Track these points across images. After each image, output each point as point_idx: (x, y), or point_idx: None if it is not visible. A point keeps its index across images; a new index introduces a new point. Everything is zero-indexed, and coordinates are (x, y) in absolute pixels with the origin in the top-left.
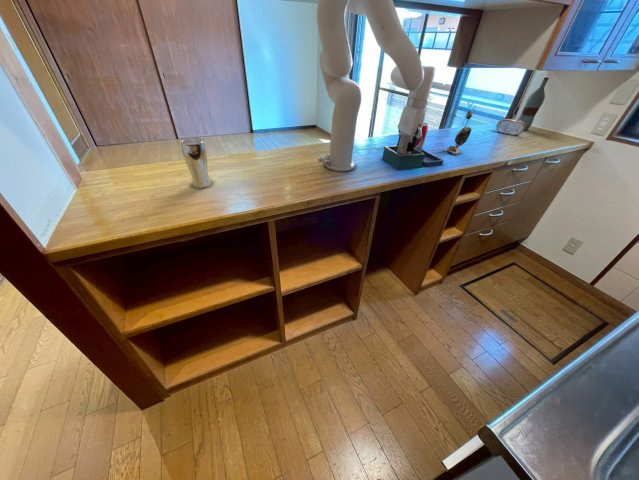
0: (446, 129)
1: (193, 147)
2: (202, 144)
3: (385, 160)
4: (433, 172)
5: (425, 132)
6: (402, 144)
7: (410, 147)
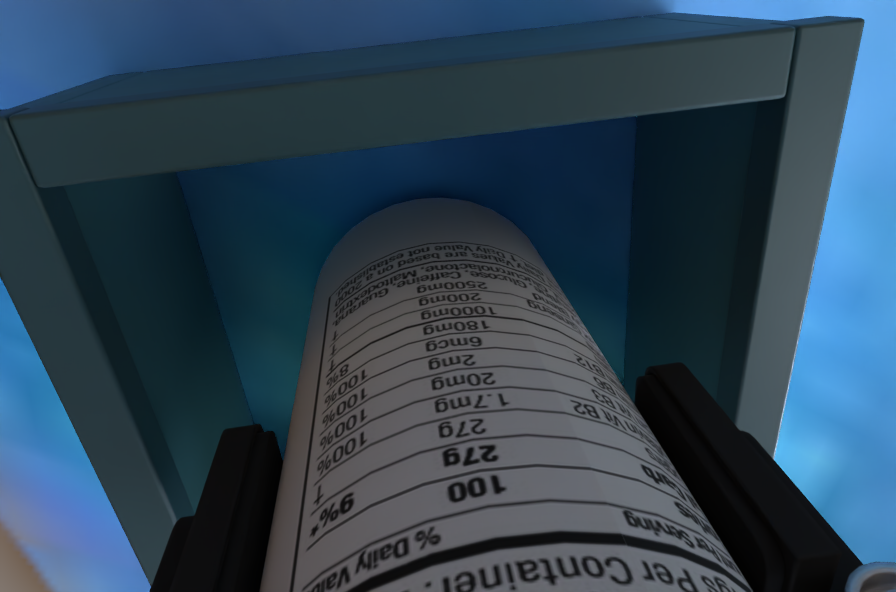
0: None
1: None
2: None
3: (557, 27)
4: (64, 562)
5: None
6: (378, 434)
7: (176, 564)
